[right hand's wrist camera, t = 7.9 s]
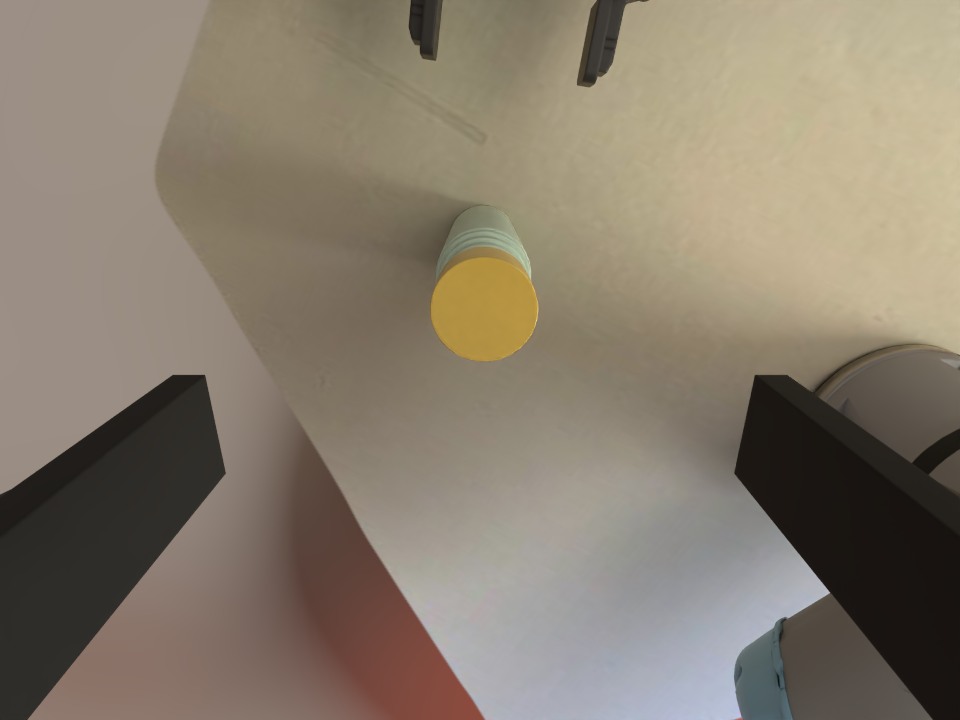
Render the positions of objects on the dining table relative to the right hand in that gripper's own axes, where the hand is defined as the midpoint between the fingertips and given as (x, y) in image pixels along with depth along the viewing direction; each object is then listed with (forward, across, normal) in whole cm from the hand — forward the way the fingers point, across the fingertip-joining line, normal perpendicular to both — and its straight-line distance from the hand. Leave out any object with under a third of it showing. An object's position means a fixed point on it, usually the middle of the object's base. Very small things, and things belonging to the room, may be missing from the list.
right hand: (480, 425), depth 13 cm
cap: (+8, 0, +1) cm, 8 cm away
